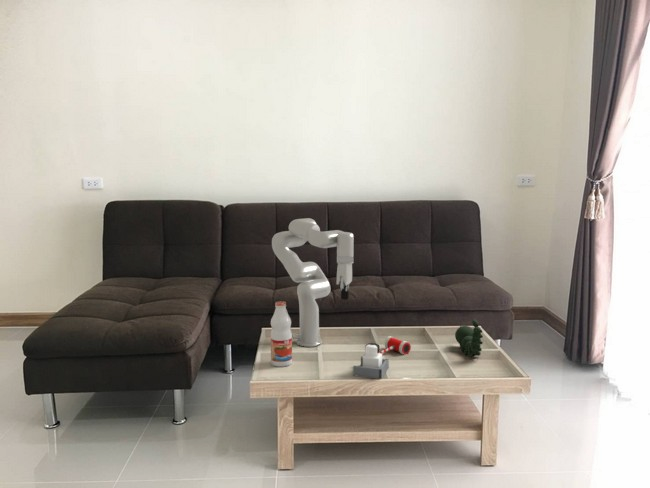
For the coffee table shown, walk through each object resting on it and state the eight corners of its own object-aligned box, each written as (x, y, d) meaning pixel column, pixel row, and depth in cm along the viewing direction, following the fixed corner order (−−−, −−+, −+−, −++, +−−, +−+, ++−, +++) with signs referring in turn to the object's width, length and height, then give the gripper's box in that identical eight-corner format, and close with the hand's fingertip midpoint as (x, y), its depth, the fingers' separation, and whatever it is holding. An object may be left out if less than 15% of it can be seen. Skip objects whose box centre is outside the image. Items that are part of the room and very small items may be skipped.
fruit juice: (286, 358, 268) (285, 299, 264) (295, 364, 260) (295, 303, 256) (267, 362, 263) (266, 301, 259) (276, 368, 255) (275, 306, 251)
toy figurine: (486, 363, 265) (468, 341, 289) (489, 324, 261) (471, 305, 285) (466, 364, 264) (450, 342, 289) (468, 324, 260) (452, 305, 284)
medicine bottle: (366, 367, 256) (366, 341, 254) (382, 369, 254) (382, 342, 252) (362, 373, 249) (362, 346, 247) (378, 375, 247) (378, 347, 245)
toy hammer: (375, 364, 261) (375, 350, 260) (358, 357, 270) (358, 344, 269) (411, 353, 275) (411, 340, 274) (393, 347, 284) (393, 334, 283)
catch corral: (353, 375, 246) (353, 366, 246) (361, 365, 259) (361, 356, 258) (381, 378, 243) (381, 369, 242) (388, 367, 255) (388, 359, 255)
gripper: (342, 256, 273) (341, 294, 276) (332, 261, 259) (332, 302, 262) (357, 257, 271) (357, 296, 274) (348, 262, 257) (348, 303, 260)
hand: (344, 299), depth 268 cm, fingers closed
